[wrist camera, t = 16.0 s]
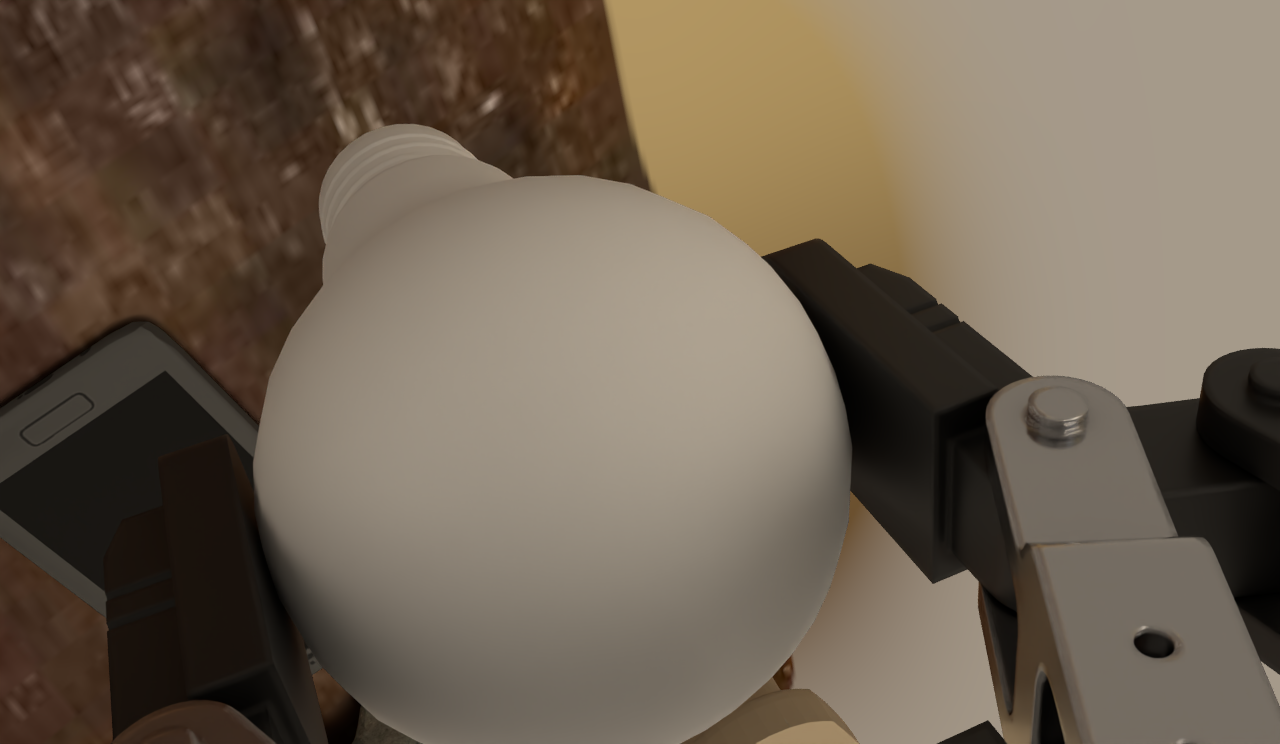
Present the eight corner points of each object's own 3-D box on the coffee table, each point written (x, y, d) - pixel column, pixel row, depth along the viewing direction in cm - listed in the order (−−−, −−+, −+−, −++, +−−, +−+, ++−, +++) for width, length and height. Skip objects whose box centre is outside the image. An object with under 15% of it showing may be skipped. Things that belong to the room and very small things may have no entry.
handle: (632, 382, 41) (859, 694, 29) (662, 519, 45) (876, 845, 33) (497, 433, 40) (678, 778, 28) (541, 570, 44) (716, 924, 32)
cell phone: (143, 307, 33) (145, 319, 33) (419, 586, 42) (424, 600, 41) (-82, 460, 33) (-85, 476, 33) (241, 709, 42) (244, 725, 41)
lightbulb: (94, 105, 17) (145, 640, 8) (486, -91, 18) (910, 217, 9) (309, 415, 21) (499, 1005, 12) (625, 244, 21) (1018, 686, 13)
